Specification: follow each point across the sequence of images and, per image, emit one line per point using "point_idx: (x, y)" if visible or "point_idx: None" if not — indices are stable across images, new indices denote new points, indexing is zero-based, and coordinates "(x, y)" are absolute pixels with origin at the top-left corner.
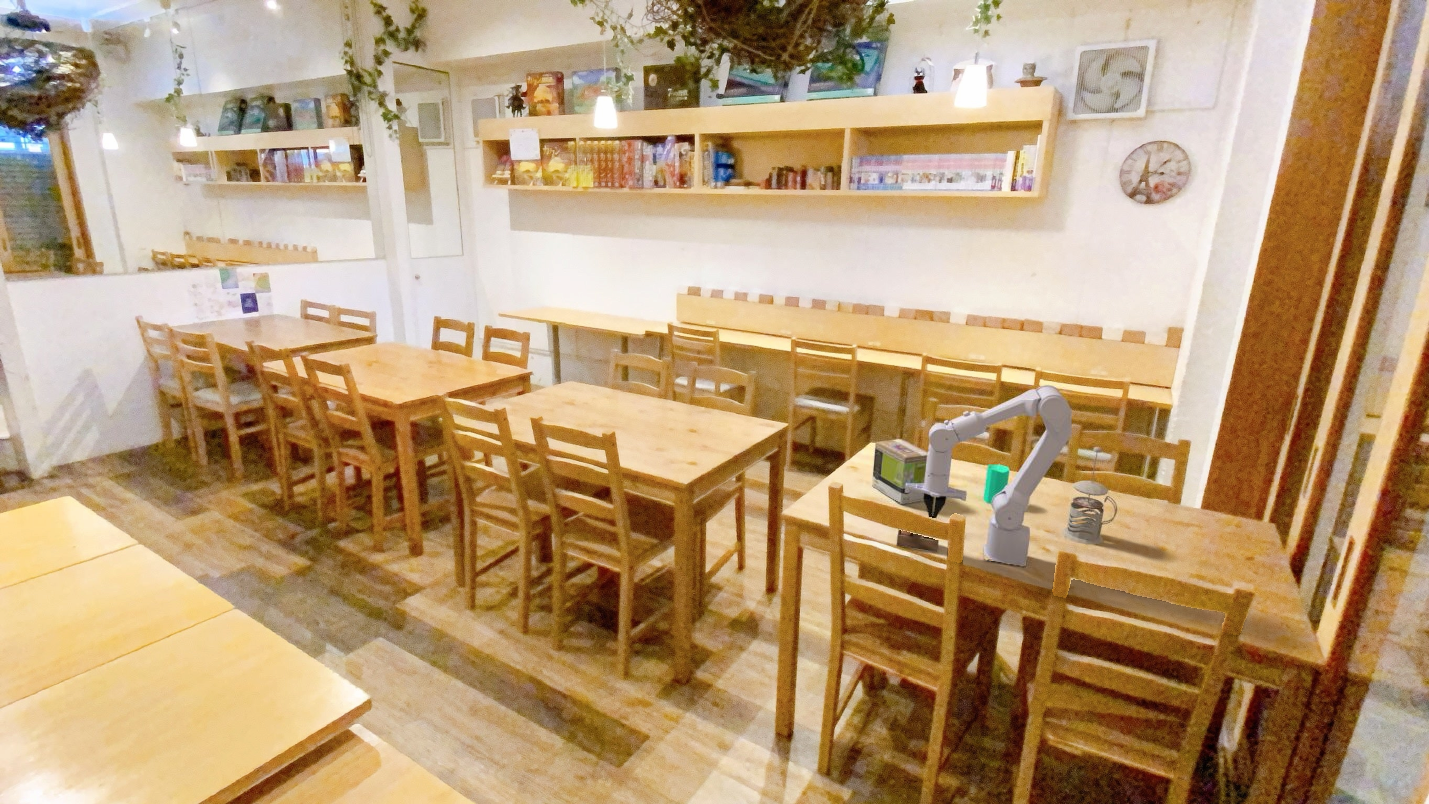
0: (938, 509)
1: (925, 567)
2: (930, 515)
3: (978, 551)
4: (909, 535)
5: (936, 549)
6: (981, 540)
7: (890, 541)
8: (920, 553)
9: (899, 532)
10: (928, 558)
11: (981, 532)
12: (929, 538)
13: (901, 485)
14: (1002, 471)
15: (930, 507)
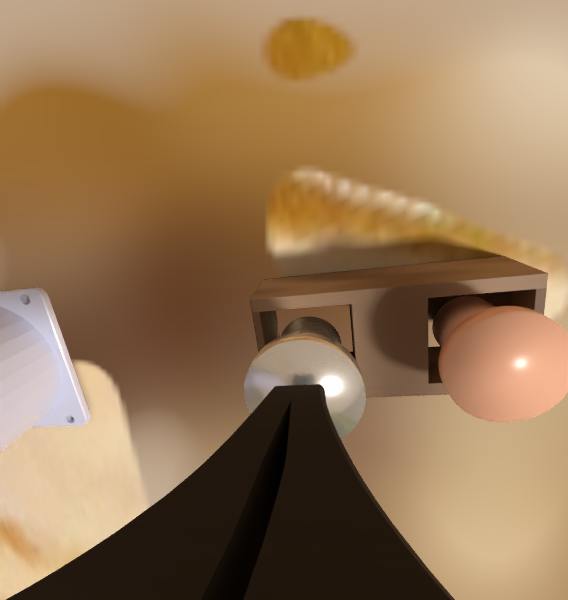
0: (173, 509)
1: (295, 43)
2: (311, 428)
3: (98, 368)
4: (449, 317)
5: (267, 282)
6: (116, 465)
7: None
8: (350, 223)
9: None
10: (297, 181)
11: None
12: (312, 319)
13: None
14: None
15: (314, 528)
